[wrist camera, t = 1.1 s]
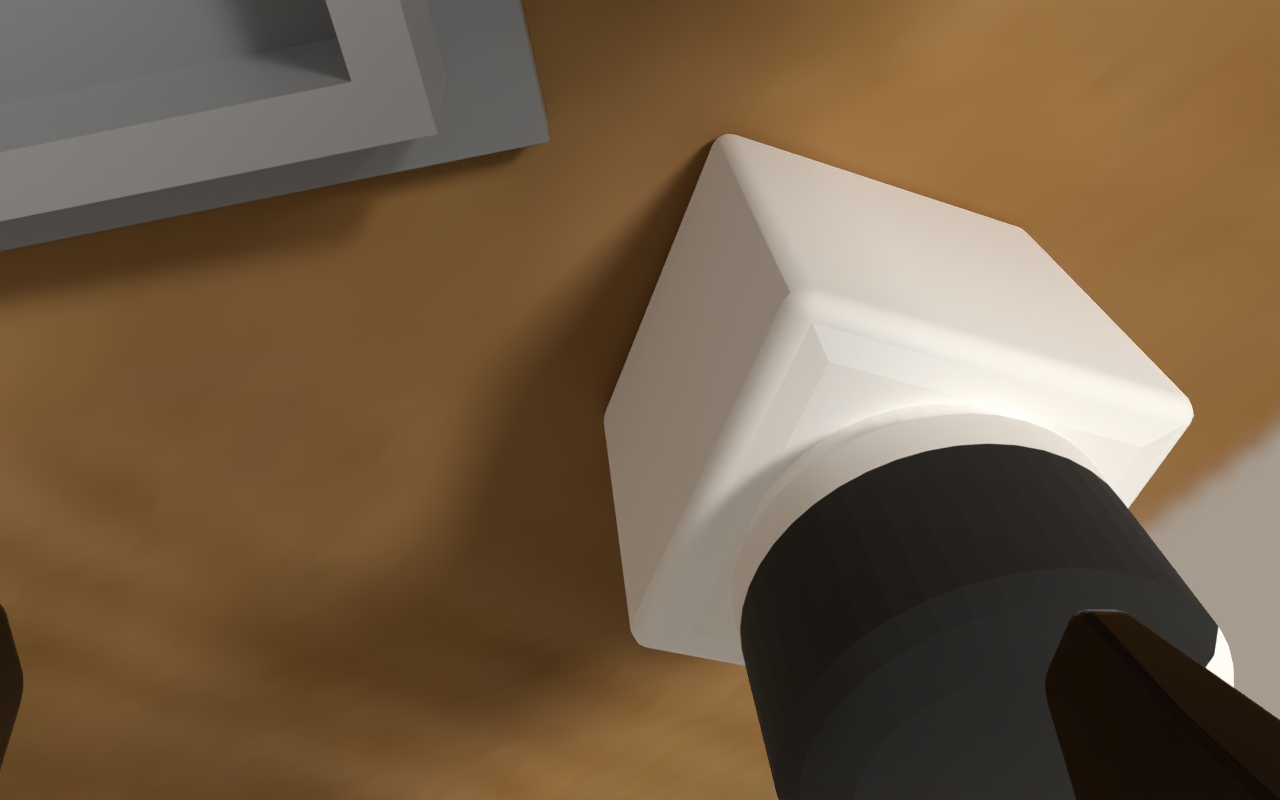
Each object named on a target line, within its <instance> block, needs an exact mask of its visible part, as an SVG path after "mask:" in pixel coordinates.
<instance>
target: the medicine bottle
mask: <svg viewBox="0 0 1280 800" xmlns="http://www.w3.org/2000/svg"><path fill="white" fill-rule="evenodd" d="M1193 416H1194V414H1193V409H1192V406H1191V403H1190V401H1189V399H1188V398H1187V397H1186V396H1185V395H1184V394H1183V393H1182V392H1181V391H1180V390H1179V389H1178V387H1177V386H1176V385H1175V384H1174V383H1173V382H1172V381H1171V380H1170V379H1169V378H1168V377H1167V376H1166V375H1165V374H1164V373H1163V372H1162V371H1161V370H1160V369H1159V368H1158V367H1157V366H1156V365H1155V364H1154V363H1153V362H1152V361H1151V360H1150V359H1149V358H1148V357H1147V356H1146V355H1145V354H1144V353H1143V352H1142V351H1141V350H1140V348H1139V347H1138V346H1137V345H1136V344H1135V343H1134V342H1133V341H1132V340H1131V339H1130V338H1129V337H1128V336H1127V335H1126V334H1125V333H1124V332H1123V331H1122V330H1121V329H1120V328H1119V327H1118V326H1117V325H1116V324H1115V323H1114V322H1113V321H1112V320H1111V319H1110V318H1109V317H1108V316H1107V315H1106V314H1105V313H1104V312H1103V311H1102V310H1101V308H1100V307H1099V306H1098V305H1097V304H1096V303H1095V302H1094V301H1093V300H1092V299H1091V298H1090V297H1089V296H1088V295H1087V294H1086V293H1085V292H1084V291H1083V290H1082V289H1081V288H1080V287H1079V286H1078V285H1077V284H1076V283H1075V282H1074V281H1073V280H1072V279H1071V278H1070V277H1069V276H1068V275H1067V274H1066V273H1065V272H1064V271H1063V270H1062V268H1061V267H1060V266H1059V265H1058V264H1057V263H1056V262H1055V261H1054V260H1053V259H1052V258H1051V257H1050V256H1049V255H1048V254H1047V253H1046V252H1045V251H1044V250H1043V249H1042V248H1041V247H1040V246H1039V245H1038V244H1037V243H1036V242H1035V241H1034V240H1033V239H1032V238H1031V237H1030V236H1029V235H1028V234H1027V233H1026V232H1025V231H1024V230H1022V229H1021V228H1020V227H1017V226H1014V225H1010V224H1007V223H1004V222H1001V221H998V220H995V219H992V218H989V217H986V216H983V215H980V214H977V213H974V212H971V211H968V210H965V209H961V208H958V207H955V206H952V205H949V204H946V203H943V202H940V201H937V200H934V199H931V198H928V197H925V196H922V195H919V194H916V193H912V192H909V191H906V190H903V189H900V188H897V187H894V186H891V185H888V184H885V183H882V182H879V181H876V180H873V179H870V178H867V177H863V176H860V175H857V174H854V173H851V172H848V171H845V170H842V169H839V168H836V167H833V166H830V165H827V164H824V163H821V162H818V161H814V160H811V159H808V158H805V157H802V156H799V155H796V154H793V153H790V152H787V151H784V150H781V149H778V148H775V147H772V146H769V145H765V144H762V143H759V142H756V141H753V140H750V139H747V138H744V137H741V136H738V135H735V134H724V135H722V136H720V137H718V138H717V139H716V141H715V142H714V143H713V145H712V147H711V150H710V152H709V155H708V157H707V160H706V162H705V165H704V167H703V170H702V172H701V175H700V177H699V180H698V182H697V185H696V187H695V190H694V192H693V195H692V197H691V200H690V202H689V205H688V207H687V210H686V212H685V215H684V217H683V220H682V222H681V225H680V227H679V230H678V232H677V235H676V237H675V240H674V242H673V245H672V247H671V250H670V252H669V255H668V257H667V260H666V262H665V265H664V267H663V270H662V272H661V275H660V277H659V280H658V282H657V285H656V287H655V290H654V292H653V295H652V297H651V300H650V302H649V305H648V307H647V310H646V312H645V315H644V317H643V320H642V322H641V325H640V327H639V330H638V332H637V335H636V337H635V340H634V342H633V345H632V347H631V350H630V352H629V355H628V357H627V360H626V362H625V365H624V367H623V370H622V372H621V375H620V377H619V380H618V382H617V384H616V387H615V389H614V392H613V394H612V397H611V399H610V402H609V404H608V407H607V409H606V412H605V415H604V428H605V436H606V444H607V451H608V459H609V467H610V475H611V482H612V490H613V498H614V506H615V513H616V521H617V529H618V537H619V544H620V552H621V560H622V568H623V575H624V583H625V591H626V599H627V606H628V614H629V622H630V630H631V632H632V634H633V636H634V638H635V639H636V641H637V642H638V644H640V645H642V646H644V647H647V648H652V649H657V650H663V651H668V652H674V653H679V654H684V655H690V656H695V657H701V658H706V659H712V660H717V661H722V662H728V663H733V664H739V665H744V666H746V670H747V674H748V678H749V682H750V686H751V690H752V694H753V698H754V702H755V706H756V711H757V715H758V719H759V723H760V727H761V731H762V735H763V739H764V743H765V748H766V752H767V756H768V760H769V764H770V768H771V772H772V776H773V780H774V784H775V789H776V792H777V796H778V799H779V800H1076V798H1075V794H1074V791H1073V787H1072V784H1071V781H1070V777H1069V774H1068V771H1067V767H1066V764H1065V760H1064V757H1063V754H1062V750H1061V747H1060V743H1059V740H1058V737H1057V733H1056V730H1055V726H1054V723H1053V720H1052V716H1051V713H1050V710H1049V706H1048V703H1047V698H1046V692H1045V680H1046V674H1047V671H1048V668H1049V666H1050V663H1051V661H1052V659H1053V657H1054V654H1055V652H1056V650H1057V647H1058V645H1059V643H1060V641H1061V638H1062V636H1063V634H1064V631H1065V629H1066V627H1067V625H1068V622H1069V620H1070V619H1071V617H1072V616H1073V615H1074V614H1075V613H1076V612H1078V611H1080V610H1084V609H1107V610H1120V611H1124V612H1126V613H1128V614H1129V615H1131V616H1133V617H1134V618H1135V619H1137V620H1138V621H1140V622H1141V623H1143V624H1144V625H1145V626H1147V627H1148V628H1150V629H1151V630H1153V631H1154V632H1155V633H1157V634H1158V635H1160V636H1161V637H1163V638H1164V639H1165V640H1167V641H1168V642H1170V643H1171V644H1172V645H1174V646H1175V647H1177V648H1178V649H1180V650H1181V651H1182V652H1184V653H1185V654H1187V655H1188V656H1190V657H1191V658H1192V659H1194V660H1195V661H1197V662H1198V663H1200V664H1201V665H1202V666H1204V667H1205V668H1207V669H1208V670H1209V671H1211V672H1212V673H1214V674H1215V675H1217V676H1218V677H1219V678H1221V679H1222V680H1224V681H1225V682H1227V683H1228V684H1229V685H1231V686H1232V687H1234V671H1233V662H1232V659H1231V654H1230V650H1229V646H1228V644H1227V642H1226V640H1225V638H1224V636H1223V634H1222V632H1221V630H1220V628H1219V627H1218V625H1217V624H1216V623H1215V621H1214V620H1213V619H1212V617H1211V616H1210V615H1209V614H1208V612H1207V611H1206V610H1205V608H1204V607H1203V606H1202V604H1201V603H1200V602H1199V601H1198V599H1197V598H1196V597H1195V596H1194V594H1193V593H1192V591H1191V590H1190V589H1189V587H1188V586H1187V585H1186V584H1185V582H1184V581H1183V580H1182V578H1181V577H1180V576H1179V575H1178V573H1177V572H1176V570H1175V569H1174V568H1173V567H1172V565H1171V564H1170V563H1169V561H1168V560H1167V559H1166V557H1165V556H1164V555H1163V554H1162V552H1161V551H1160V550H1159V548H1158V547H1157V546H1156V544H1155V543H1154V542H1153V540H1152V539H1151V538H1150V537H1149V535H1148V534H1147V533H1146V531H1145V530H1144V529H1143V527H1142V526H1141V525H1140V524H1139V522H1138V521H1137V520H1136V518H1135V517H1134V516H1133V514H1132V513H1131V512H1130V510H1129V509H1128V508H1129V506H1130V505H1131V504H1132V502H1133V501H1134V500H1135V498H1136V497H1137V496H1138V494H1139V493H1140V491H1141V490H1142V489H1143V487H1144V486H1145V485H1146V483H1147V482H1148V481H1149V479H1150V478H1151V476H1152V475H1153V474H1154V472H1155V471H1156V470H1157V468H1158V467H1159V466H1160V464H1161V463H1162V461H1163V460H1164V459H1165V457H1166V456H1167V455H1168V453H1169V452H1170V451H1171V449H1172V448H1173V446H1174V445H1175V444H1176V442H1177V441H1178V440H1179V438H1180V437H1181V436H1182V434H1183V433H1184V431H1185V430H1186V429H1187V427H1188V426H1189V425H1190V423H1191V420H1192V418H1193Z"/></svg>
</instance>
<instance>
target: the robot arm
mask: <svg viewBox="0 0 1280 800" xmlns="http://www.w3.org/2000/svg"><path fill="white" fill-rule="evenodd" d="M22 692H23V673H22V668H21V664H20V661H19V657H18V654H17V650H16V647H15V643H14V639H13V636H12V632H11V629H10V625H9V622H8V618H7V615H6V612H5V610H4V608H3V606H2V605H1V604H0V769H1V766H2V763H3V759H4V756H5V753H6V749H7V746H8V743H9V740H10V736H11V733H12V730H13V726H14V723H15V720H16V716H17V713H18V710H19V706H20V703H21V699H22ZM1045 692H1046V698H1047V703H1048V706H1049V710H1050V713H1051V716H1052V720H1053V723H1054V726H1055V730H1056V733H1057V737H1058V740H1059V743H1060V747H1061V750H1062V754H1063V757H1064V760H1065V764H1066V767H1067V771H1068V774H1069V777H1070V781H1071V784H1072V787H1073V791H1074V794H1075V798H1076V800H1280V720H1279V719H1278V718H1276V717H1275V716H1274V715H1272V714H1271V713H1269V712H1268V711H1266V710H1265V709H1264V708H1262V707H1261V706H1259V705H1258V704H1256V703H1255V702H1254V701H1252V700H1251V699H1249V698H1248V697H1246V696H1245V695H1244V694H1242V693H1241V692H1239V691H1238V690H1237V689H1235V688H1234V687H1232V686H1231V685H1229V684H1228V683H1227V682H1225V681H1224V680H1222V679H1221V678H1219V677H1218V676H1217V675H1215V674H1214V673H1212V672H1211V671H1209V670H1208V669H1207V668H1205V667H1204V666H1202V665H1201V664H1200V663H1198V662H1197V661H1195V660H1194V659H1192V658H1191V657H1190V656H1188V655H1187V654H1185V653H1184V652H1182V651H1181V650H1180V649H1178V648H1177V647H1175V646H1174V645H1172V644H1171V643H1170V642H1168V641H1167V640H1165V639H1164V638H1163V637H1161V636H1160V635H1158V634H1157V633H1155V632H1154V631H1153V630H1151V629H1150V628H1148V627H1147V626H1145V625H1144V624H1143V623H1141V622H1140V621H1138V620H1137V619H1135V618H1134V617H1133V616H1131V615H1129V614H1128V613H1126V612H1124V611H1120V610H1107V609H1084V610H1080V611H1078V612H1076V613H1075V614H1074V615H1073V616H1072V617H1071V619H1070V620H1069V622H1068V625H1067V627H1066V629H1065V631H1064V634H1063V636H1062V638H1061V641H1060V643H1059V645H1058V647H1057V650H1056V652H1055V654H1054V657H1053V659H1052V661H1051V663H1050V666H1049V668H1048V671H1047V674H1046V680H1045Z"/></svg>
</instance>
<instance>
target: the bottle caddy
mask: <svg viewBox="0 0 1280 800" xmlns="http://www.w3.org/2000/svg"><path fill="white" fill-rule="evenodd" d="M546 142H550V133H549V123H548V118H547V114H546V109H545V105H544V100H543V96H542V91H541V87H540V82H539V78H538V73H537V69H536V64H535V60H534V55H533V51H532V46H531V42H530V37H529V33H528V28H527V24H526V19H525V15H524V10H523V6H522V1H521V0H0V251H4V250H9V249H14V248H19V247H24V246H29V245H34V244H39V243H44V242H49V241H54V240H59V239H64V238H69V237H74V236H80V235H85V234H90V233H95V232H100V231H105V230H110V229H115V228H120V227H125V226H130V225H135V224H140V223H145V222H150V221H155V220H160V219H165V218H170V217H175V216H180V215H185V214H190V213H195V212H200V211H205V210H210V209H215V208H220V207H225V206H230V205H235V204H240V203H245V202H250V201H255V200H260V199H265V198H270V197H275V196H280V195H285V194H290V193H295V192H300V191H305V190H310V189H315V188H320V187H325V186H330V185H335V184H340V183H345V182H350V181H355V180H360V179H365V178H370V177H375V176H380V175H385V174H390V173H395V172H400V171H405V170H410V169H415V168H420V167H426V166H431V165H436V164H441V163H446V162H451V161H456V160H461V159H466V158H471V157H476V156H481V155H486V154H491V153H496V152H501V151H506V150H511V149H516V148H521V147H526V146H531V145H536V144H541V143H546Z"/></svg>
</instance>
